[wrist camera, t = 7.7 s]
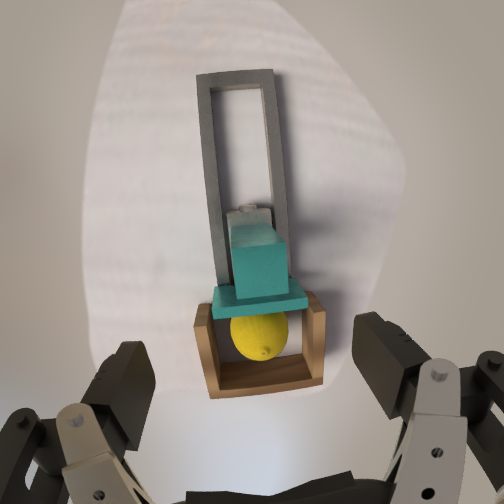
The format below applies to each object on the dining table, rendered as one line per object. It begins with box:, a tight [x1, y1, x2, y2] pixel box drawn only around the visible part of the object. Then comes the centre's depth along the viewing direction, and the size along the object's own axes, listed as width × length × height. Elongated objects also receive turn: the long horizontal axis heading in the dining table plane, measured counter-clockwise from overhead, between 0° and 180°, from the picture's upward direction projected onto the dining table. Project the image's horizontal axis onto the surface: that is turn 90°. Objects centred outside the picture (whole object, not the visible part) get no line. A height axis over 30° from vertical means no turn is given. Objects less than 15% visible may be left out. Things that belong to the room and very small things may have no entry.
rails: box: [196, 69, 291, 286], centre depth 27 cm, size 24×7×2 cm, turn 5°
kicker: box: [212, 204, 308, 319], centre depth 24 cm, size 8×8×10 cm
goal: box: [194, 291, 326, 399], centre depth 29 cm, size 9×12×5 cm
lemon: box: [230, 311, 288, 361], centre depth 27 cm, size 6×6×8 cm
